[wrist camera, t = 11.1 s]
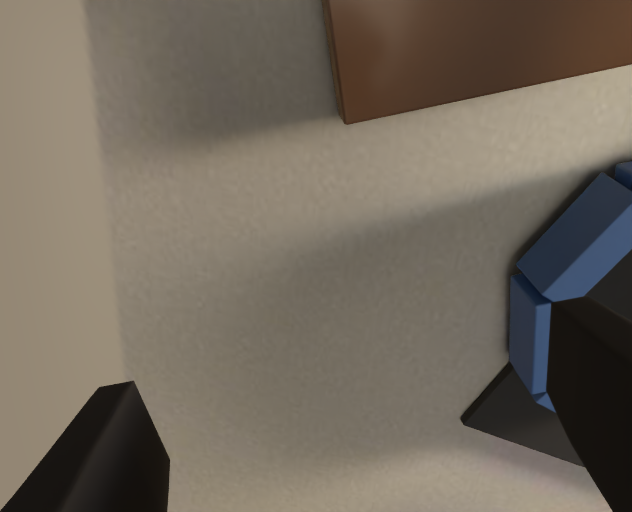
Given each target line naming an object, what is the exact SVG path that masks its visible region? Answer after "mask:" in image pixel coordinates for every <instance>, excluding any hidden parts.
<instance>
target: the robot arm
mask: <svg viewBox="0 0 632 512" xmlns="http://www.w3.org/2000/svg"><path fill="white" fill-rule="evenodd" d="M546 391H547V394H548V396H549V398H550V400H551V402H552V405H553V407H554V409H555V411H556V414H557V416H558V418H559V420H560V422H561V424H562V426H563V428H564V431H565V433H566V435H567V437H568V439H569V441H570V443H571V445H572V446H573V448H574V450H575V451H576V453H577V455H578V456H579V458H580V460H581V461H582V463H583V464H584V466H585V468H586V469H587V471H588V472H589V474H590V476H591V477H592V479H593V481H594V482H595V484H596V485H597V487H598V489H599V490H600V492H601V493H602V495H603V497H604V498H605V500H606V501H607V503H608V504H609V506H610V508H611V509H612V511H613V512H632V321H631V320H629V319H627V318H625V317H624V316H622V315H620V314H619V313H617V312H615V311H613V310H612V309H610V308H608V307H607V306H605V305H603V304H601V303H599V302H598V301H596V300H594V299H592V298H590V297H588V296H583V297H578V298H572V299H567V300H562V301H556V302H551V313H550V330H549V347H548V364H547V380H546ZM169 471H170V459H169V456H168V454H167V452H166V450H165V448H164V446H163V443H162V441H161V439H160V437H159V435H158V432H157V430H156V428H155V426H154V424H153V422H152V419H151V417H150V415H149V413H148V411H147V409H146V406H145V404H144V402H143V400H142V398H141V395H140V393H139V391H138V389H137V387H136V385H135V382H134V381H130V382H124V383H119V384H114V385H109V386H103V387H99V388H98V389H97V390H96V391H95V393H94V394H93V395H92V396H91V397H90V399H89V400H88V401H87V403H86V404H85V405H84V406H83V408H82V409H81V410H80V411H79V413H78V414H77V415H76V417H75V418H74V419H73V420H72V422H71V423H70V424H69V426H68V427H67V428H66V429H65V431H64V432H63V434H62V435H61V436H60V437H59V439H58V440H57V441H56V442H55V444H54V445H53V446H52V448H51V449H50V450H49V451H48V453H47V454H46V455H45V457H44V458H43V459H42V460H41V461H40V463H39V464H38V465H37V466H36V468H35V469H34V470H33V471H32V473H31V474H30V475H29V476H28V478H27V479H26V480H25V482H24V483H23V484H22V485H21V487H20V488H19V489H18V490H17V492H16V493H15V494H14V495H13V497H12V498H11V499H10V500H9V501H8V502H7V504H6V505H5V506H4V507H3V508H2V509H1V511H0V512H167V506H168V492H169Z"/></svg>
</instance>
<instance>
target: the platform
mask: <svg viewBox="0 0 632 512" xmlns="http://www.w3.org/2000/svg"><path fill="white" fill-rule="evenodd" d="M322 6H323V13H324V20H325V26H326V33H327V40H328V46H329V53H330V60H331V66H332V73H333V80H334V86H335V93H336V100H337V106H338V113H339V115H340V117H341V119H342V120H343V122H344V124H346V125H348V124H353V123H358V122H362V121H367V120H372V119H376V118H381V117H386V116H391V115H395V114H400V113H405V112H409V111H414V110H419V109H423V108H428V107H433V106H438V105H442V104H447V103H452V102H456V101H461V100H466V99H471V98H475V97H480V96H485V95H489V94H494V93H499V92H504V91H508V90H513V89H518V88H522V87H527V86H532V85H536V84H541V83H546V82H551V81H555V80H560V79H565V78H569V77H574V76H579V75H584V74H588V73H593V72H598V71H602V70H607V69H612V68H617V67H621V66H626V65H631V64H632V0H322Z"/></svg>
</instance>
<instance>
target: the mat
mask: <svg viewBox="0 0 632 512" xmlns="http://www.w3.org/2000/svg"><path fill="white" fill-rule="evenodd" d="M584 296H588V297H590V298H592V299H594V300H596V301H598V302H599V303H601V304H603V305H605V306H607V307H608V308H610V309H612V310H613V311H615V312H617V313H619V314H620V315H622V316H624V317H625V318H627V319H629V320H631V321H632V249H631V250H630V251H629V252H628V253H627V254H626V255H625V256H624V257H623V258H622V259H621V260H620V261H619V262H618V263H617V264H616V265H615V266H614V267H613V268H612V269H611V270H610V271H609V272H608V273H607V274H606V275H605V276H604V277H602V278H601V279H600V280H599V281H598V282H597V283H596V284H595V285H594V286H593V287H592V288H591V289H590V290H589V291H588V292H587V293H586V294H585V295H584ZM461 421H462V423H463V425H465V426H468V427H471V428H474V429H477V430H479V431H482V432H485V433H488V434H491V435H494V436H497V437H499V438H502V439H505V440H508V441H511V442H514V443H517V444H519V445H522V446H525V447H528V448H531V449H534V450H537V451H539V452H542V453H545V454H548V455H551V456H554V457H556V458H559V459H562V460H565V461H568V462H571V463H574V464H576V465H579V466H582V467H585V466H584V464H583V463H582V461H581V460H580V458H579V456H578V455H577V453H576V451H575V450H574V448H573V446H572V445H571V443H570V441H569V439H568V437H567V435H566V433H565V431H564V428H563V426H562V424H561V422H560V420H559V418H558V416H557V414H556V413H555V412H553V411H552V410H550V409H548V408H546V407H544V406H542V405H540V404H538V403H536V401H535V400H534V398H533V397H532V395H531V394H530V392H529V391H528V389H527V388H526V386H525V385H524V383H523V382H522V380H521V379H520V377H519V375H518V374H517V372H516V371H515V369H514V367H513V365H512V364H511V362H510V363H509V364H508V365H507V367H506V368H505V369H504V370H503V371H502V372H501V373H500V374H499V376H498V377H497V378H496V379H495V380H494V381H493V382H492V383H491V385H490V386H489V387H488V388H487V389H486V390H485V391H484V392H483V394H482V395H481V396H480V397H479V398H478V399H477V400H476V401H475V403H474V404H473V405H472V406H471V407H470V408H469V409H468V410H467V412H466V413H465V414H464V415H463V416H462V417H461Z"/></svg>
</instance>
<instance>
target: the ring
mask: <svg viewBox="0 0 632 512" xmlns="http://www.w3.org/2000/svg"><path fill="white" fill-rule="evenodd" d="M631 249H632V161H630V162H625V163H620V164H617V165H616V171H615V179H612V178H611V177H609V176H608V175H606V174H605V173H601V174H600V175H599V176H598V177H597V178H596V179H595V180H594V181H593V182H592V183H591V184H590V185H589V186H588V187H587V189H586V190H585V191H584V192H583V193H582V194H581V195H580V196H579V197H578V198H577V199H576V200H575V201H574V202H573V203H572V204H571V206H570V207H569V208H568V209H567V210H566V211H565V212H564V213H563V214H562V215H561V216H560V217H559V218H558V219H557V220H556V222H555V223H554V224H553V225H552V226H551V227H550V228H549V229H548V230H547V231H546V232H545V233H544V234H543V235H542V236H541V238H540V239H539V240H538V241H537V242H536V243H535V244H534V245H533V246H532V247H531V248H530V249H529V250H528V251H527V252H526V253H525V255H524V256H523V257H522V258H521V259H520V260H519V261H518V262H517V263H516V265H517V267H518V268H519V269H520V270H521V271H522V272H523V273H521V274H517V275H513V276H511V282H510V346H509V361H510V362H511V364H512V365H513V367H514V369H515V371H516V372H517V374H518V375H519V377H520V379H521V380H522V382H523V383H524V385H525V386H526V388H527V389H528V391H529V392H530V394H531V395H532V397H533V398H534V400H535V401H536V403H538V404H540V405H542V406H544V407H546V408H548V409H550V410H552V411H553V412H555V413H556V411H555V409H554V407H553V405H552V402H551V400H550V398H549V396H548V394H547V391H546V380H547V364H548V347H549V330H550V313H551V302H556V301H562V300H567V299H572V298H578V297H583V296H584V295H585V294H586V293H587V292H588V291H589V290H590V289H591V288H592V287H593V286H594V285H595V284H596V283H597V282H598V281H599V280H600V279H601V278H602V277H604V276H605V275H606V274H607V273H608V272H609V271H610V270H611V269H612V268H613V267H614V266H615V265H616V264H617V263H618V262H619V261H620V260H621V259H622V258H623V257H624V256H625V255H626V254H627V253H628V252H629V251H630V250H631Z"/></svg>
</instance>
